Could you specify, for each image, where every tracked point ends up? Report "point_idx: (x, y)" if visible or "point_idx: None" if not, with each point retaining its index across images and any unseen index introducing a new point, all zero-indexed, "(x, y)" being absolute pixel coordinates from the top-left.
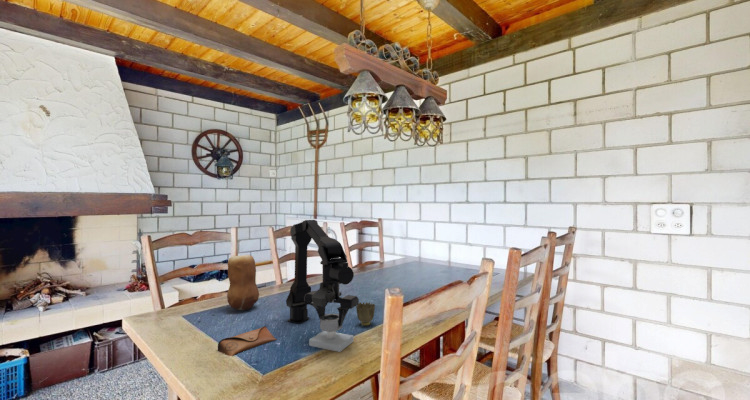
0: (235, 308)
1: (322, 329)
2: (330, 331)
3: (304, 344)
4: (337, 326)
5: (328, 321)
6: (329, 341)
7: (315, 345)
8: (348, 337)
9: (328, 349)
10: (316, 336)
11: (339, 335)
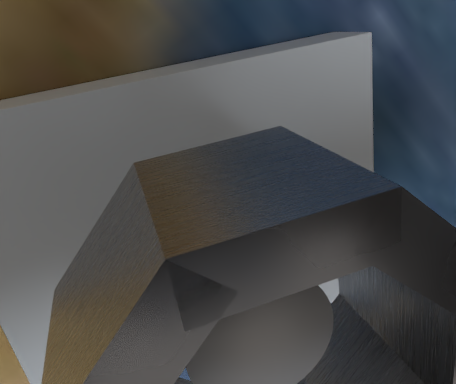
0: None
1: (277, 134)
2: (122, 183)
3: (388, 26)
4: (50, 333)
5: (188, 247)
6: (137, 141)
7: (268, 47)
8: (42, 349)
9: (97, 80)
10: (353, 145)
11: None
